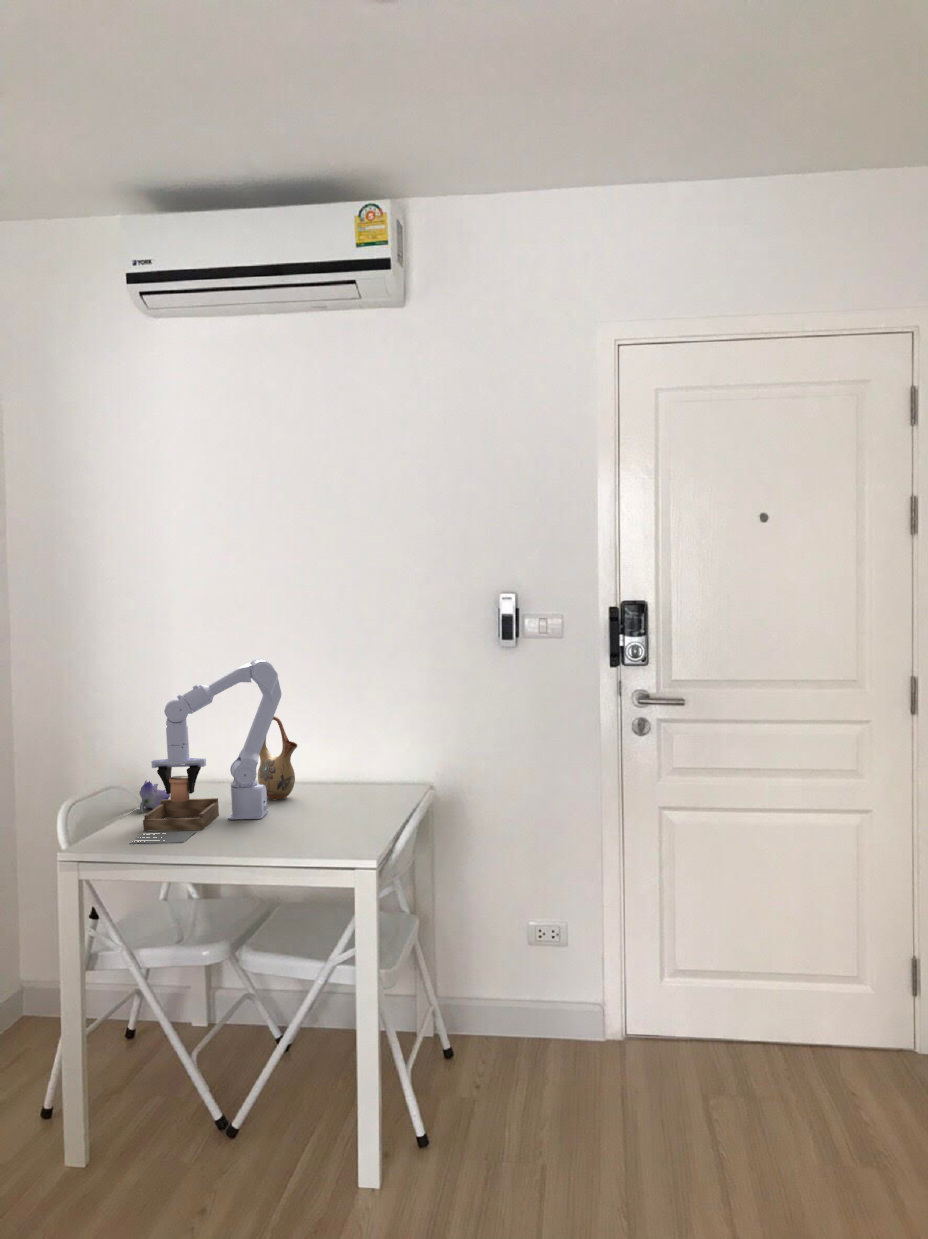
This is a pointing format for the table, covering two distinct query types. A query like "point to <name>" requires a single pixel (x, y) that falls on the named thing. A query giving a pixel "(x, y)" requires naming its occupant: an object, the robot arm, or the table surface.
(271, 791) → the ceramic vessel
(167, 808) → the frame
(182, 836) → the slate mat
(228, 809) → the table surface
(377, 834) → the table surface
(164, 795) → the flower
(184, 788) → the terracotta pot
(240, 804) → the robot arm
